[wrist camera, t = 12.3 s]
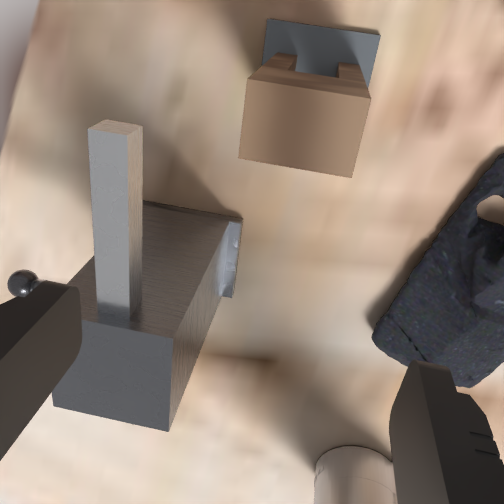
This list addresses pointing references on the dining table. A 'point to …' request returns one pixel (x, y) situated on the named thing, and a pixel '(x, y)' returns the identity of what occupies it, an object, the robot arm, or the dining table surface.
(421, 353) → the dark slate chunk
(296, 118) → the slotted wooden collar
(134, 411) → the vise stand
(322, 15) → the dining table surface
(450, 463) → the robot arm
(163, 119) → the dining table surface
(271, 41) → the felt pad
